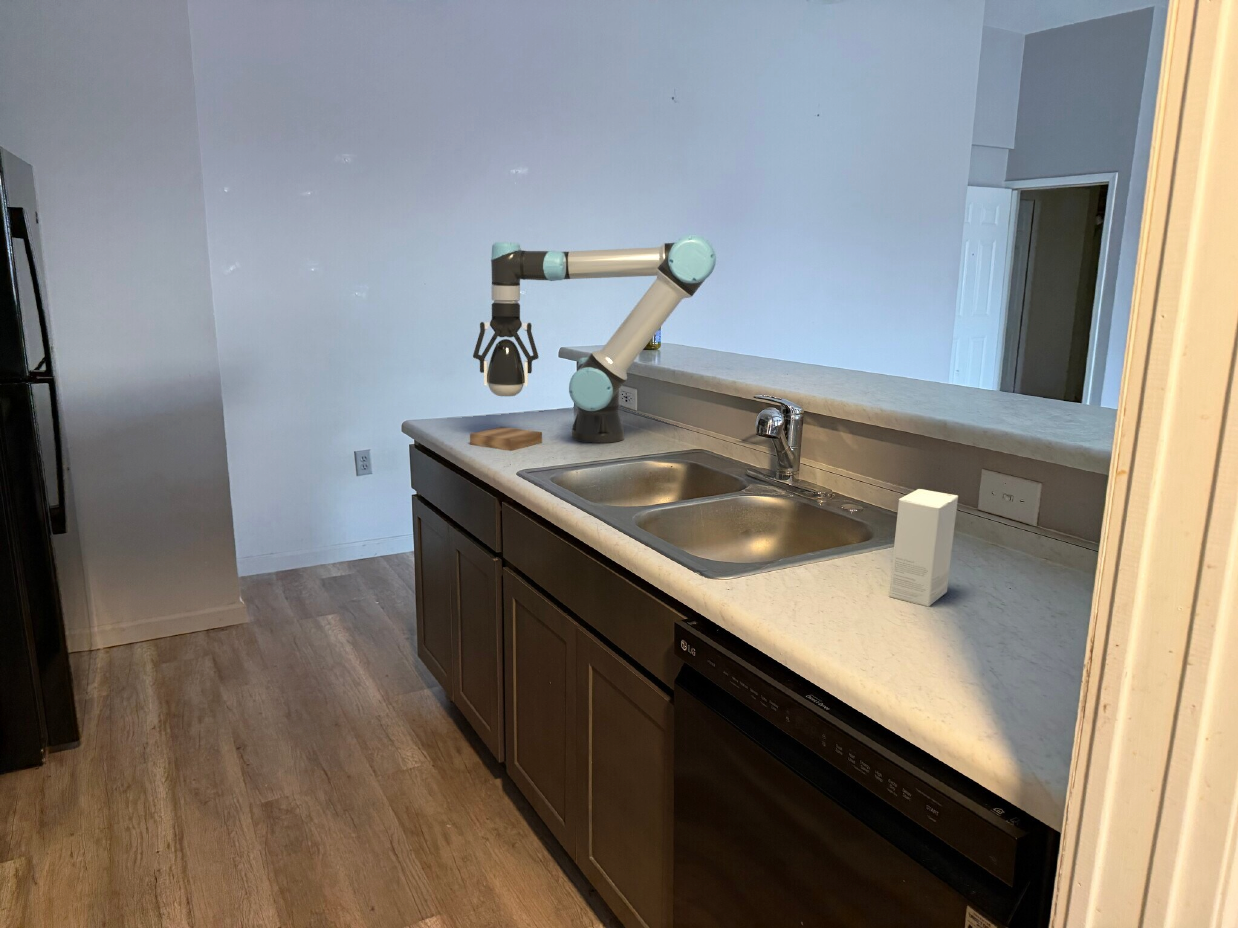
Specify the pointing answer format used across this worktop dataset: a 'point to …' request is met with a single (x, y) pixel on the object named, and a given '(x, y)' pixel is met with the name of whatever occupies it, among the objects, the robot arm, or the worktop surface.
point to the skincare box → (923, 546)
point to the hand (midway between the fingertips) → (506, 385)
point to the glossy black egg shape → (505, 369)
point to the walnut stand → (506, 438)
